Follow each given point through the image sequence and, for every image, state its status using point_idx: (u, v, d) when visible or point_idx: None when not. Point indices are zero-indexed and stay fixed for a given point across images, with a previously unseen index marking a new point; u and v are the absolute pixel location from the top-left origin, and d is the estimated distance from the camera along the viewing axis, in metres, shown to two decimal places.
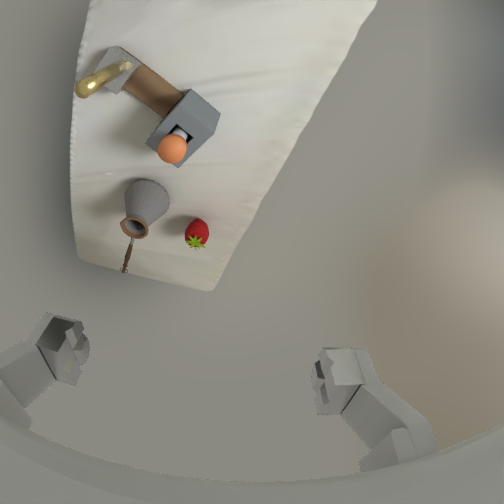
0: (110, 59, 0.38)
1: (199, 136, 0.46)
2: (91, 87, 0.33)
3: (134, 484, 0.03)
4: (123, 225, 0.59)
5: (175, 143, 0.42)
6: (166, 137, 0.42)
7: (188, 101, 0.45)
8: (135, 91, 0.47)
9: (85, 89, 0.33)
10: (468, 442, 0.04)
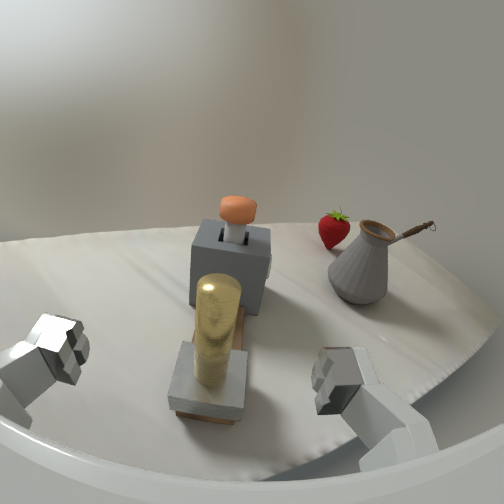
0: (189, 385, 0.25)
1: (216, 224, 0.42)
2: (206, 275, 0.22)
3: (134, 484, 0.03)
4: None
5: (225, 201, 0.37)
6: (228, 214, 0.36)
7: None
8: None
9: (216, 282, 0.21)
10: (468, 443, 0.04)
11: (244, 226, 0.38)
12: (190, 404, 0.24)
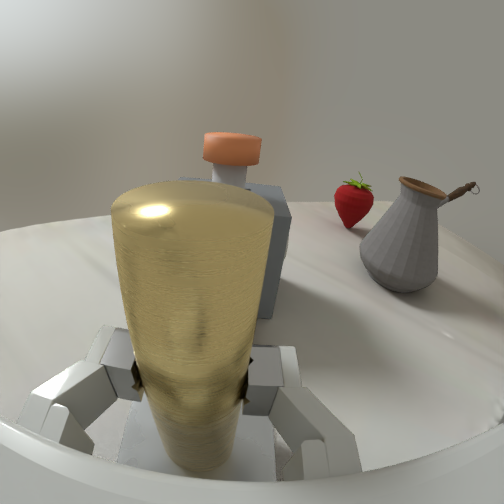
0: (154, 470, 0.09)
1: None
2: (154, 186, 0.06)
3: (134, 484, 0.03)
4: None
5: (212, 134, 0.22)
6: (217, 150, 0.21)
7: None
8: None
9: (184, 195, 0.06)
10: (468, 442, 0.04)
11: (243, 173, 0.23)
12: None
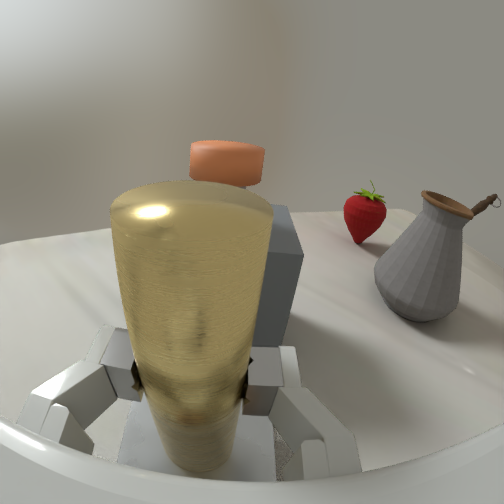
0: (154, 471, 0.09)
1: None
2: (153, 186, 0.06)
3: (134, 484, 0.03)
4: None
5: (200, 144, 0.17)
6: (206, 165, 0.16)
7: None
8: None
9: (183, 195, 0.06)
10: (468, 442, 0.04)
11: None
12: None
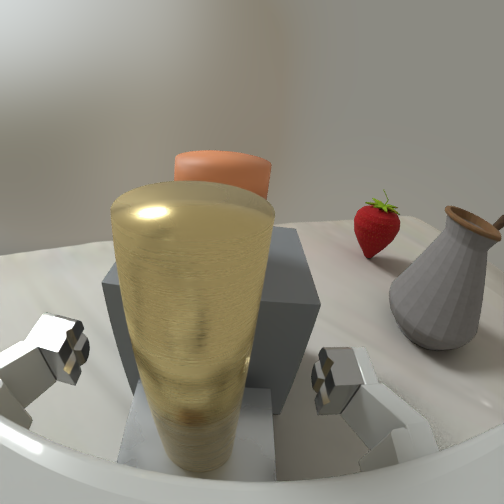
0: (154, 471, 0.09)
1: None
2: (153, 186, 0.06)
3: (134, 484, 0.03)
4: None
5: (187, 157, 0.13)
6: None
7: None
8: None
9: (184, 195, 0.06)
10: (469, 442, 0.04)
11: None
12: None
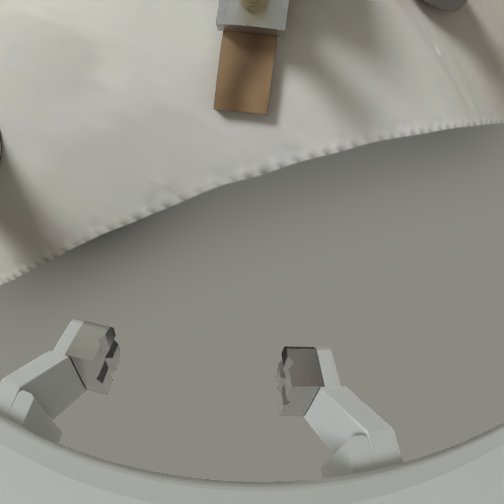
0: (235, 11, 0.21)
1: None
2: None
3: (134, 484, 0.03)
4: None
5: None
6: None
7: None
8: (269, 39, 0.25)
9: None
10: (468, 442, 0.04)
11: None
12: (237, 27, 0.23)
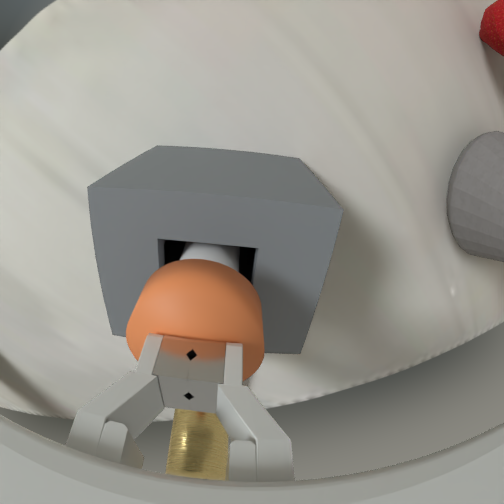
0: None
1: (136, 224, 0.11)
2: (172, 468, 0.11)
3: (134, 484, 0.03)
4: None
5: None
6: None
7: None
8: None
9: (191, 475, 0.11)
10: (468, 442, 0.04)
11: None
12: None
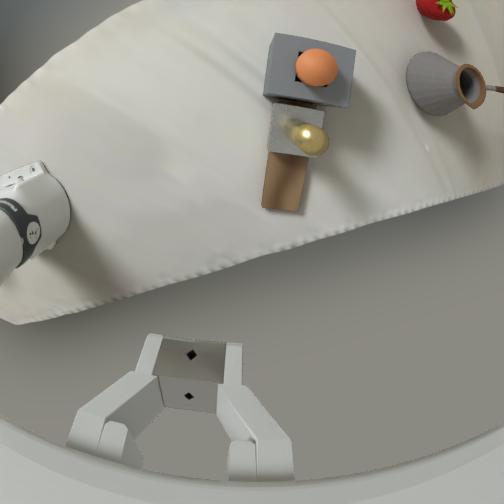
0: (282, 141, 0.38)
1: (292, 45, 0.27)
2: (304, 128, 0.27)
3: (134, 484, 0.03)
4: (475, 103, 0.27)
5: (302, 66, 0.26)
6: (305, 82, 0.28)
7: (266, 86, 0.33)
8: None
9: (312, 136, 0.27)
10: (468, 442, 0.04)
11: None
12: None
